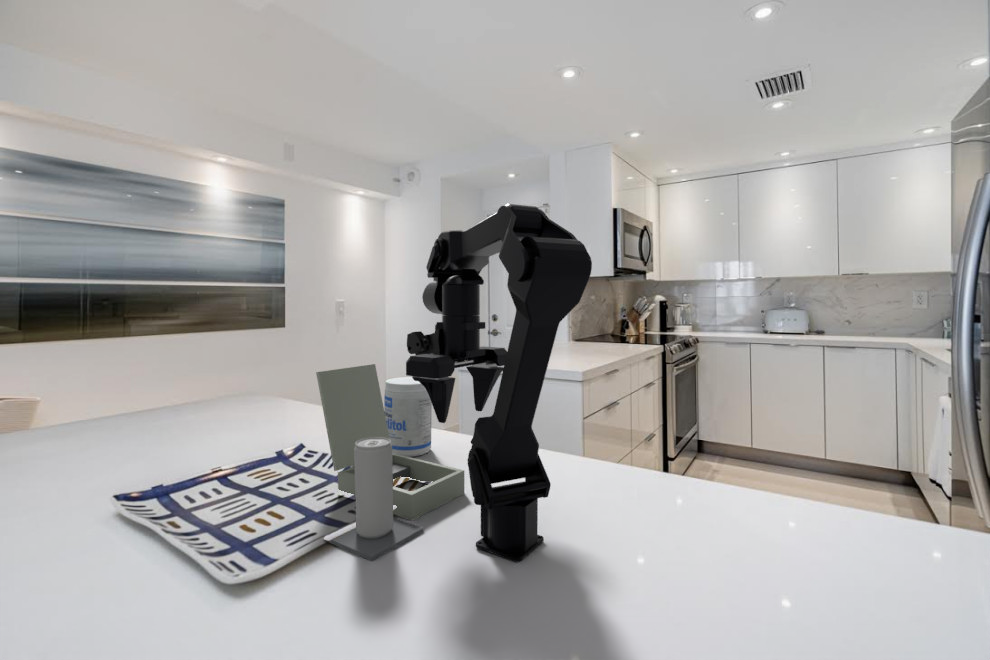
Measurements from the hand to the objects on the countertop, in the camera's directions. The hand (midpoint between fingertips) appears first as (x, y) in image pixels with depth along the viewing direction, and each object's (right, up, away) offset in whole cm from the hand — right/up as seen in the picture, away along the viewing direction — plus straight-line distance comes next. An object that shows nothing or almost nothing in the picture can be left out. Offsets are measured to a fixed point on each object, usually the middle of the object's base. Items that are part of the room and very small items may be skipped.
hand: (461, 416), depth 75 cm
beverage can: (-11, -13, -11) cm, 20 cm away
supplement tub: (-13, -12, +25) cm, 30 cm away
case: (-10, -13, +2) cm, 16 cm away
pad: (-11, -14, -11) cm, 21 cm away
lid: (-18, -1, +8) cm, 20 cm away
